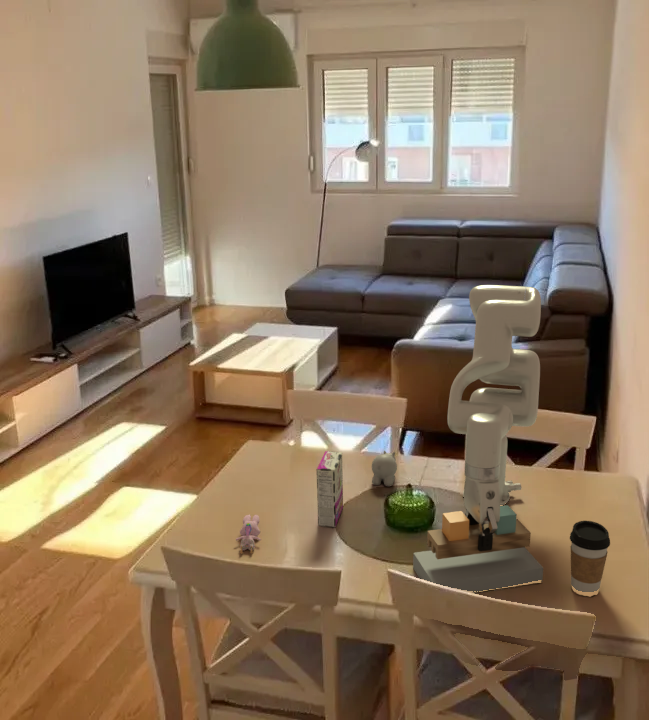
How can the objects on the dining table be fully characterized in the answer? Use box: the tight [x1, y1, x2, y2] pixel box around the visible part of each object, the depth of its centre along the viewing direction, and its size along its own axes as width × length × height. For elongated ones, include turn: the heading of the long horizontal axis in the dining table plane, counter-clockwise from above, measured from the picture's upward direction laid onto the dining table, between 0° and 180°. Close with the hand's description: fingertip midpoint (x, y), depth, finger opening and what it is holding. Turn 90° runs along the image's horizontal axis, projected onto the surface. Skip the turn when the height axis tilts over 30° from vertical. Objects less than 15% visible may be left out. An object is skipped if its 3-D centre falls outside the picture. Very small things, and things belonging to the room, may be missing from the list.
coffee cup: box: [569, 520, 611, 592], centre depth 174 cm, size 8×8×15 cm
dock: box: [412, 547, 544, 594], centre depth 182 cm, size 26×13×4 cm, turn 103°
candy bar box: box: [315, 450, 344, 528], centre depth 207 cm, size 11×5×16 cm, turn 168°
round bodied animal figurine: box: [371, 450, 398, 487], centre depth 229 cm, size 7×12×8 cm, turn 159°
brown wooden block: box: [426, 518, 532, 559], centre depth 179 cm, size 22×6×4 cm, turn 103°
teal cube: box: [488, 504, 517, 535], centre depth 179 cm, size 4×4×4 cm
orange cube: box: [441, 510, 469, 541], centre depth 177 cm, size 4×4×4 cm
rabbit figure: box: [235, 514, 262, 555], centre depth 198 cm, size 6×6×15 cm
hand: (478, 541), depth 180 cm, fingers closed on brown wooden block, 6 cm apart
